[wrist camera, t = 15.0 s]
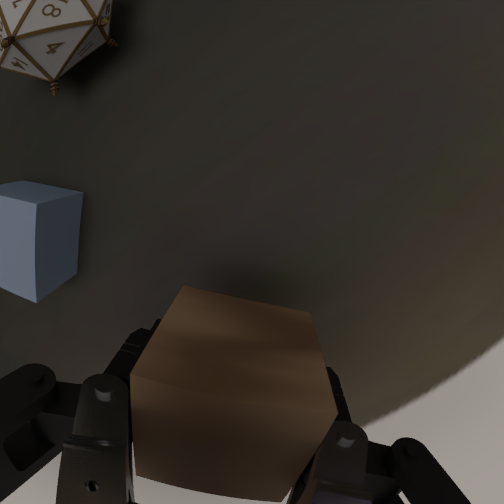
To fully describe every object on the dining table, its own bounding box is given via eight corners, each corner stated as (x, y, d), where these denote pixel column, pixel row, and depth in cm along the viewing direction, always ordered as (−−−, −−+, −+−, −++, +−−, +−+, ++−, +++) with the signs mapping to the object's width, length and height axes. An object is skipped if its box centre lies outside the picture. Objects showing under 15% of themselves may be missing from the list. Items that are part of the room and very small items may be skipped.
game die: (116, 71, 18) (55, 145, 12) (27, 44, 14) (-57, 108, 8) (171, -35, 12) (115, -33, 6) (66, -60, 8) (-34, -46, 2)
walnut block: (309, 312, 11) (338, 413, 6) (277, 403, 12) (281, 502, 7) (183, 285, 11) (130, 373, 6) (171, 381, 12) (136, 475, 7)
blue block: (84, 192, 17) (36, 204, 12) (77, 272, 19) (36, 303, 14) (25, 180, 17) (-24, 189, 12) (21, 254, 18) (-22, 276, 13)
